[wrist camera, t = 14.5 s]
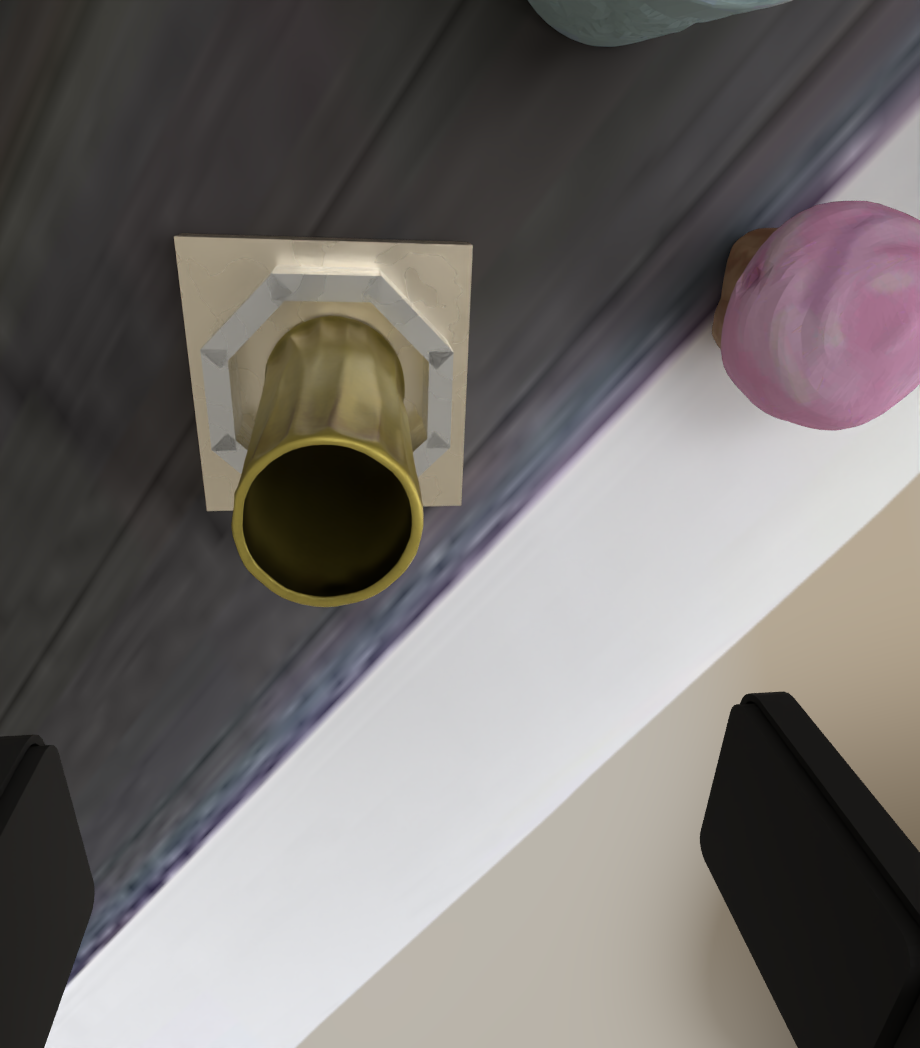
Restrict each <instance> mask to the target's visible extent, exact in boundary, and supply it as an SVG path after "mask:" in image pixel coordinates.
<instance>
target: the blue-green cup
mask: <svg viewBox="0 0 920 1048" xmlns="http://www.w3.org/2000/svg"><path fill="white" fill-rule="evenodd" d="M528 1H529V3H530V4H531V6H532V7H533V8H534V9H535V11H536V12H537V13H538V14H539V15H540V16H541V17H542V18H543V20H544V21H545V22H546V23H547V24H549V25H550V26H551V27H553V28H554V29H555V30H557V31H558V32H560V33H561V34H563V35H565V36H566V37H568V38H570V39H573V40H575V41H578V42H581V43H583V44H587V45H592V46H605V47H616V46H622V45H627V44H633V43H636V42H640V41H644V40H647V39H651V38H655V37H659V36H664V35H667V34H671V33H677V32H680V31H683V30H684V29H686V28H687V27H689V26H691V25H692V24H694V23H696V22H707V21H711V20H716V19H720V18H724V17H728V16H730V15H734V14H740V13H745V12H750V11H755V10H759V9H764V8H769V7H772V6H776V5H779V4H783V3H786V2H790V1H793V0H528Z"/></svg>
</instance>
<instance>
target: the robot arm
mask: <svg viewBox="0 0 920 1048" xmlns="http://www.w3.org/2000/svg"><path fill="white" fill-rule="evenodd" d="M700 845H701V851H702V854H703V857H704V860H705V862H706V864H707V866H708V868H709V870H710V872H711V874H712V876H713V878H714V880H715V882H716V884H717V886H718V888H719V890H720V892H721V894H722V896H723V898H724V900H725V902H726V904H727V906H728V908H729V910H730V912H731V914H732V916H733V918H734V920H735V922H736V924H737V926H738V929H739V931H740V932H741V935H742V937H743V939H744V941H745V943H746V945H747V947H748V948H749V951H750V953H751V954H752V957H753V959H754V960H755V963H756V965H757V967H758V969H759V970H760V973H761V975H762V977H763V979H764V981H765V983H766V985H767V987H768V989H769V991H770V993H771V995H772V997H773V999H774V1001H775V1003H776V1005H777V1007H778V1009H779V1011H780V1013H781V1015H782V1017H783V1019H784V1021H785V1023H786V1025H787V1027H788V1029H789V1031H790V1033H791V1035H792V1037H793V1039H794V1041H795V1043H796V1045H797V1047H798V1048H920V852H919V851H918V850H917V848H916V847H915V846H914V845H913V844H912V843H911V841H910V840H909V839H908V837H907V836H906V835H905V834H904V833H903V831H902V830H901V829H900V828H899V826H898V825H897V824H896V823H895V821H894V820H893V819H892V818H891V817H890V815H889V814H888V813H887V812H886V810H884V808H883V807H882V806H881V804H880V803H879V802H878V801H877V799H876V798H875V797H874V796H873V795H872V793H871V792H870V791H869V790H868V788H867V787H866V786H865V785H864V783H863V782H862V781H861V780H860V778H859V777H858V776H857V775H856V774H855V772H854V771H853V770H852V769H851V767H850V766H849V765H848V764H847V763H846V761H845V760H844V759H843V758H842V756H841V755H840V754H839V753H838V751H837V750H836V749H835V748H834V747H833V745H832V744H831V743H830V742H829V740H828V739H827V738H826V737H825V736H824V734H823V733H822V732H821V731H820V730H819V728H818V727H817V726H816V724H815V723H814V722H813V721H812V720H811V718H810V717H809V716H808V715H807V713H806V712H805V711H804V710H803V709H802V707H801V706H800V705H799V704H798V702H797V701H796V700H795V699H794V698H793V697H792V696H791V695H790V694H789V693H786V692H769V693H751V694H746V695H745V696H744V697H743V698H742V700H741V703H740V704H737V705H734V706H733V707H732V709H731V712H730V716H729V719H728V723H727V727H726V732H725V735H724V740H723V743H722V748H721V752H720V756H719V760H718V764H717V768H716V772H715V776H714V780H713V784H712V788H711V792H710V796H709V800H708V804H707V808H706V812H705V817H704V820H703V824H702V828H701V832H700ZM93 903H94V882H93V878H92V875H91V871H90V867H89V863H88V860H87V856H86V852H85V849H84V845H83V841H82V838H81V834H80V830H79V826H78V823H77V819H76V815H75V812H74V808H73V804H72V800H71V797H70V793H69V789H68V786H67V782H66V778H65V775H64V771H63V767H62V763H61V760H60V756H59V753H58V750H57V748H56V747H55V746H54V745H46V746H45V744H44V742H43V739H42V738H41V737H40V736H39V735H22V736H4V737H0V1048H44V1046H45V1044H46V1041H47V1038H48V1035H49V1032H50V1029H51V1027H52V1024H53V1021H54V1018H55V1015H56V1012H57V1010H58V1007H59V1004H60V1001H61V998H62V995H63V992H64V990H65V987H66V984H67V981H68V978H69V975H70V973H71V970H72V967H73V964H74V961H75V958H76V956H77V953H78V950H79V947H80V944H81V941H82V938H83V936H84V933H85V930H86V927H87V924H88V921H89V919H90V916H91V912H92V909H93Z"/></svg>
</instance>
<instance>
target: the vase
mask: <svg viewBox="0 0 920 1048" xmlns="http://www.w3.org/2000/svg"><path fill="white" fill-rule="evenodd" d="M404 397H405V382H404V375H403V370H402V366H401V363H400V360H399V358H398V356H397V354H396V352H395V350H394V349H393V347H392V346H391V345H390V344H389V342H388V341H387V340H386V339H385V338H384V337H383V336H382V335H381V334H379V333H378V332H377V331H376V330H374V329H373V328H371V327H370V326H368V325H366V324H364V323H362V322H360V321H357V320H354V319H350V318H346V317H339V316H324V317H318V318H314V319H311V320H308V321H305V322H303V323H301V324H299V325H297V326H295V327H294V328H292V329H291V330H289V331H288V332H287V333H286V334H285V335H284V336H283V337H282V338H281V339H280V340H279V341H278V343H277V344H276V345H275V347H274V349H273V350H272V352H271V354H270V356H269V358H268V360H267V364H266V369H265V382H264V386H263V391H262V396H261V399H260V403H259V407H258V411H257V415H256V420H255V424H254V427H253V431H252V435H251V439H250V443H249V447H248V451H247V454H246V458H245V461H244V465H243V470H242V474H241V477H240V481H239V484H238V487H237V489H236V490H235V493H234V508H233V517H232V524H231V526H232V534H233V538H234V541H235V544H236V547H237V550H238V553H239V555H240V558H241V560H242V562H243V564H244V565H245V567H246V568H247V569H248V571H249V572H250V573H251V574H252V575H253V576H254V577H255V578H256V579H258V580H259V581H260V582H261V583H262V584H264V585H265V586H266V587H267V588H268V589H270V590H271V591H272V592H274V593H276V594H277V595H279V596H280V597H282V598H285V599H287V600H290V601H292V602H296V603H299V604H303V605H309V606H316V607H335V606H341V605H346V604H351V603H356V602H359V601H362V600H365V599H368V598H370V597H372V596H374V595H377V594H378V593H380V592H381V591H383V590H384V589H386V588H387V587H388V586H389V585H391V584H392V583H393V582H394V581H395V580H397V579H398V578H399V577H400V576H401V575H402V574H403V573H404V572H405V571H406V569H407V568H408V566H409V565H410V563H411V562H412V560H413V559H414V557H415V555H416V554H417V550H418V547H419V543H420V539H421V535H422V530H423V503H422V496H421V490H420V485H419V480H418V476H417V472H416V468H415V463H414V457H413V449H412V443H411V436H410V429H409V422H408V416H407V411H406V408H405V406H404V403H403V401H404Z"/></svg>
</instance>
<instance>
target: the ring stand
mask: <svg viewBox="0 0 920 1048" xmlns="http://www.w3.org/2000/svg"><path fill="white" fill-rule="evenodd" d="M174 242H175V250H176V258H177V266H178V275H179V283H180V291H181V299H182V308H183V316H184V324H185V333H186V341H187V349H188V357H189V366H190V374H191V382H192V390H193V399H194V407H195V415H196V423H197V432H198V440H199V448H200V456H201V465H202V473H203V481H204V489H205V498H206V506H207V511H232V510H233V508H234V493H235V490H236V489H237V487H238V484H239V481H240V477H241V474H242V470H243V465H244V461H245V458H246V454H247V451H248V447H249V443H250V439H251V435H252V431H253V427H254V424H255V420H256V415H257V411H258V407H259V403H260V399H261V396H262V391H263V386H264V382H265V369H266V364H267V360H268V358H269V356H270V354H271V352H272V350H273V349H274V347H275V345H276V344H277V343H278V341H279V340H280V339H281V338H282V337H283V336H284V335H285V334H286V333H287V332H288V331H289V330H291V329H292V328H294V327H295V326H297V325H299V324H301V323H303V322H305V321H308V320H311V319H314V318H318V317H324V316H339V317H346V318H350V319H354V320H357V321H360V322H362V323H364V324H366V325H368V326H370V327H371V328H373V329H374V330H376V331H377V332H378V333H379V334H381V335H382V336H383V337H384V338H385V339H386V340H387V341H388V342H389V344H390V345H391V346H392V347H393V349H394V350H395V352H396V354H397V356H398V358H399V360H400V363H401V366H402V370H403V375H404V382H405V397H404V401H403V403H404V406H405V408H406V411H407V416H408V422H409V429H410V436H411V443H412V449H413V457H414V463H415V468H416V472H417V476H418V480H419V485H420V490H421V496H422V503H423V506H461V498H462V475H463V453H464V430H465V408H466V385H467V362H468V340H469V317H470V295H471V272H472V250H473V245H472V244H470V243H469V242H461V241H427V240H393V239H360V238H326V237H293V236H259V235H226V234H192V233H181V234H178V235H176V236H174Z"/></svg>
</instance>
